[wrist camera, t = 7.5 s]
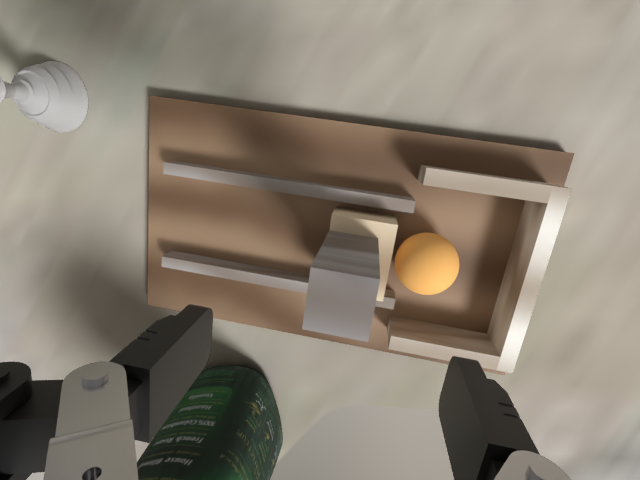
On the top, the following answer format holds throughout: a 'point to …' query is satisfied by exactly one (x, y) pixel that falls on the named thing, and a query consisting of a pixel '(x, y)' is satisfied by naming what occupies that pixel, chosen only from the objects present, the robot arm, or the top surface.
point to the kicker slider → (350, 273)
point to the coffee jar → (218, 431)
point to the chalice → (49, 95)
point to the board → (356, 193)
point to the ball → (426, 263)
